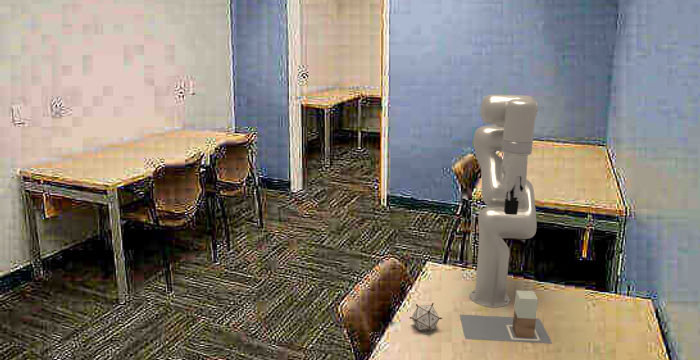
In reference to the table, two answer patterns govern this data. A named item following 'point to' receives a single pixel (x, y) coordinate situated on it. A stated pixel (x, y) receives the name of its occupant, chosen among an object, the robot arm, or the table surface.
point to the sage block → (526, 304)
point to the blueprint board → (499, 329)
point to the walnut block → (523, 327)
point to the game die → (425, 317)
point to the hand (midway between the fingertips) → (510, 213)
